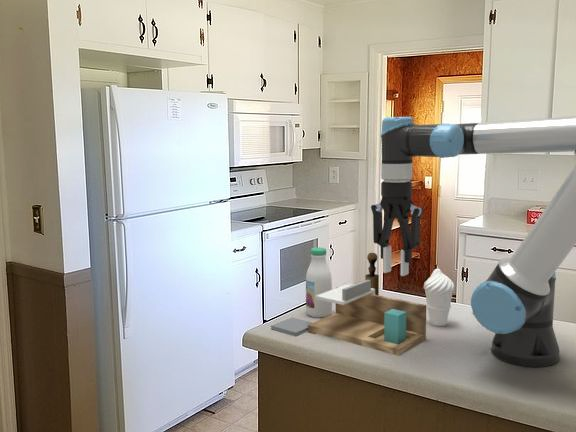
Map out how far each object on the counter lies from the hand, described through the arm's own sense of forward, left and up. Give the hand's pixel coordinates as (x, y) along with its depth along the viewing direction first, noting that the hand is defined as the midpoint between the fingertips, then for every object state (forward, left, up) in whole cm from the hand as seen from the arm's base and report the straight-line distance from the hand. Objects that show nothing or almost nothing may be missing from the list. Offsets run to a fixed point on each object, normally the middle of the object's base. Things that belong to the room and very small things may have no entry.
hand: (395, 273), depth 143 cm
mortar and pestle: (+19, -19, -19) cm, 33 cm away
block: (0, 0, -18) cm, 18 cm away
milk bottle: (+30, -7, -19) cm, 36 cm away
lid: (+16, -1, -16) cm, 22 cm away
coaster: (+28, +7, -19) cm, 34 cm away
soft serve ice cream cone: (-2, -20, -19) cm, 28 cm away
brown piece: (+9, 0, -19) cm, 21 cm away
